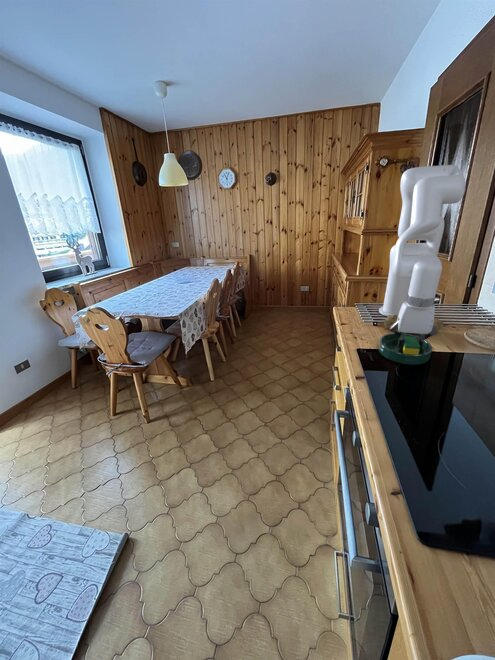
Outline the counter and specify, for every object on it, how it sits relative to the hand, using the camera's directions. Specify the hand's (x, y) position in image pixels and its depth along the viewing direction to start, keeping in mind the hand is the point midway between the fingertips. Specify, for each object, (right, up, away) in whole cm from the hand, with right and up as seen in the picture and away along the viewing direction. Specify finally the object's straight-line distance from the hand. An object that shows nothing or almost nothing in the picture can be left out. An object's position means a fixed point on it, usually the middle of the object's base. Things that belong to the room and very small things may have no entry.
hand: (408, 348), depth 99 cm
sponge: (+11, +6, +16) cm, 21 cm away
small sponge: (0, 0, 0) cm, 0 cm away
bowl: (-1, -2, +1) cm, 3 cm away
